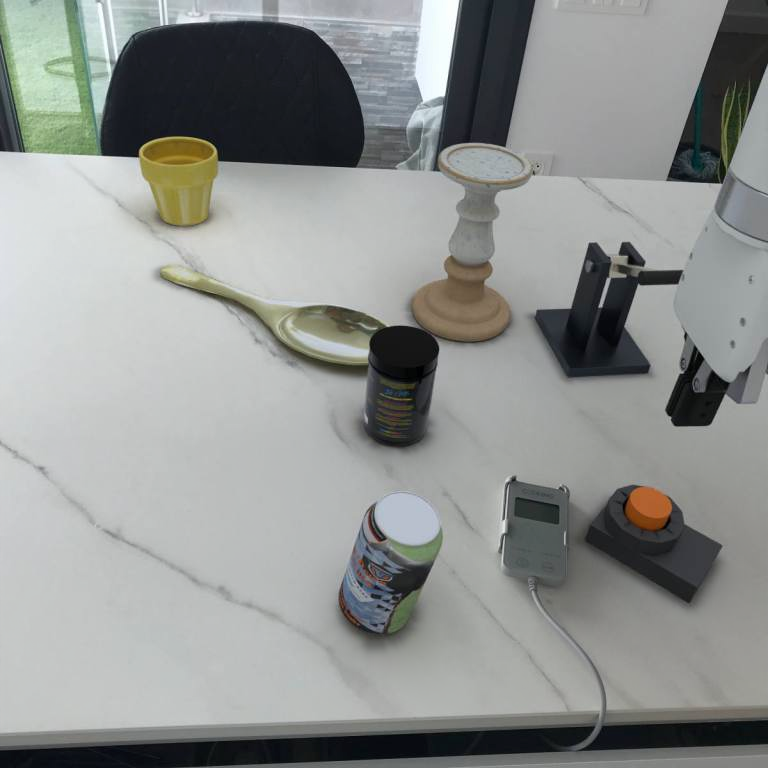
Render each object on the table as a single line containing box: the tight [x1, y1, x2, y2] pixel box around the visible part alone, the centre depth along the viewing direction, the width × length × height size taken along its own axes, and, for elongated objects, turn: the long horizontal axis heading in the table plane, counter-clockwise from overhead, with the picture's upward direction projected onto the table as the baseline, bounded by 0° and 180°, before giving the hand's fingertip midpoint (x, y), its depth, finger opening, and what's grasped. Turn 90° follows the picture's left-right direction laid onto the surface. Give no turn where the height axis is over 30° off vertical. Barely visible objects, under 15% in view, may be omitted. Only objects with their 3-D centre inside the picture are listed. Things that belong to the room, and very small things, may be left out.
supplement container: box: [363, 324, 440, 447], centre depth 77 cm, size 7×7×10 cm
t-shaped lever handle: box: [605, 253, 684, 287], centre depth 82 cm, size 13×5×2 cm, turn 9°
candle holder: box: [411, 142, 534, 343], centre depth 91 cm, size 12×12×20 cm
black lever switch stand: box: [534, 241, 651, 378], centre depth 90 cm, size 12×10×13 cm
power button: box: [625, 486, 672, 531], centre depth 68 cm, size 4×4×2 cm
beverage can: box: [338, 490, 444, 636], centre depth 59 cm, size 6×7×12 cm
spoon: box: [160, 264, 391, 366], centre depth 93 cm, size 35×11×2 cm, turn 59°
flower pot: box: [138, 136, 219, 227], centre depth 108 cm, size 10×10×10 cm
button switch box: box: [584, 484, 723, 603], centre depth 69 cm, size 10×6×4 cm, turn 51°
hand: (687, 418), depth 61 cm, fingers closed
